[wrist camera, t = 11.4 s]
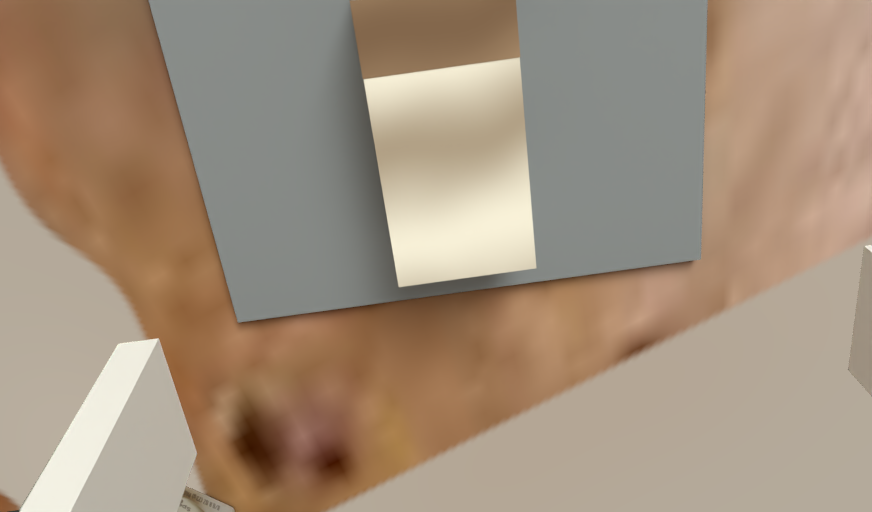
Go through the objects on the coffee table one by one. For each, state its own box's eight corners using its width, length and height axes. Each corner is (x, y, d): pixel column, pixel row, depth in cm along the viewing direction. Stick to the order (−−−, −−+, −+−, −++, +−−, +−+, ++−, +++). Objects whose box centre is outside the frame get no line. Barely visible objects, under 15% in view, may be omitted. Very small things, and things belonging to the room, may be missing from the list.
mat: (705, -160, 27) (711, -161, 27) (695, 253, 34) (700, 259, 34) (131, -80, 27) (126, -79, 27) (240, 315, 34) (237, 322, 34)
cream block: (518, 218, 32) (537, 268, 28) (397, 235, 33) (398, 287, 28) (496, -38, 28) (514, -23, 24) (355, -19, 28) (349, 1, 24)
